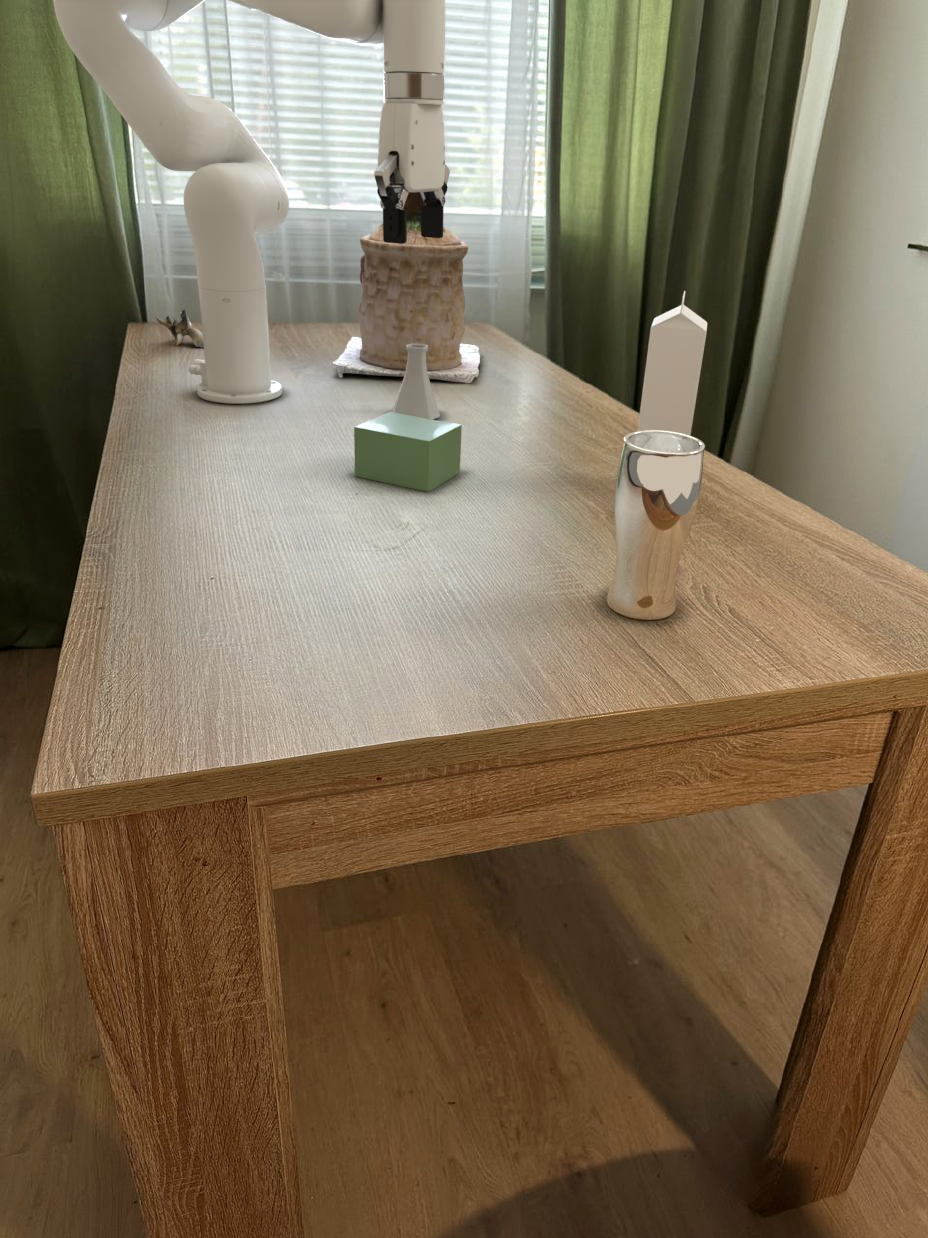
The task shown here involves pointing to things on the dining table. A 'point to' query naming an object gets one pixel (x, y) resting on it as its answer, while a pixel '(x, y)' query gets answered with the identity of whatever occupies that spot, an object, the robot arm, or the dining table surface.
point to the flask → (416, 387)
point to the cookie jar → (411, 305)
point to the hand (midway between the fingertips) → (414, 239)
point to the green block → (407, 451)
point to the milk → (672, 371)
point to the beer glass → (653, 519)
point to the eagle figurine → (183, 329)
